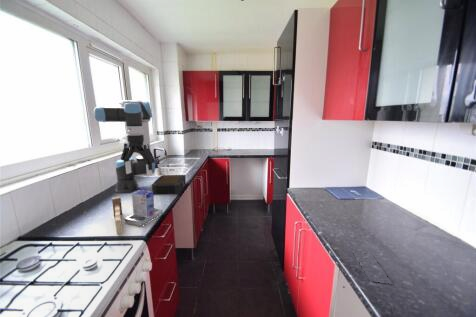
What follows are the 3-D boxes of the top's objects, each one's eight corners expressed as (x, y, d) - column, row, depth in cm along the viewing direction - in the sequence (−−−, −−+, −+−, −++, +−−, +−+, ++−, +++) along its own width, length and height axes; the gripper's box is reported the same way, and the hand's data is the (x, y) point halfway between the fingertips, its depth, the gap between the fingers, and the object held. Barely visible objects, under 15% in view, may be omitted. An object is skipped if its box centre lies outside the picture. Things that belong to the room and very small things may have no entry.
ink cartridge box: (155, 213, 109) (153, 187, 106) (147, 217, 104) (145, 191, 101) (141, 210, 112) (138, 185, 110) (133, 214, 107) (130, 188, 104)
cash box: (180, 194, 143) (180, 184, 141) (151, 195, 141) (150, 184, 140) (187, 183, 167) (186, 174, 166) (161, 183, 166) (161, 174, 164)
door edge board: (114, 214, 112) (112, 197, 110) (122, 213, 114) (120, 196, 112) (114, 235, 93) (112, 215, 91) (124, 232, 95) (122, 213, 93)
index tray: (146, 210, 117) (146, 206, 117) (162, 213, 114) (162, 209, 113) (125, 223, 103) (124, 218, 103) (142, 226, 100) (141, 222, 100)
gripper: (110, 134, 103) (114, 173, 108) (150, 136, 96) (153, 179, 100) (122, 132, 110) (126, 170, 115) (160, 134, 103) (163, 175, 107)
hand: (139, 174), depth 108 cm, fingers open, 13 cm apart
